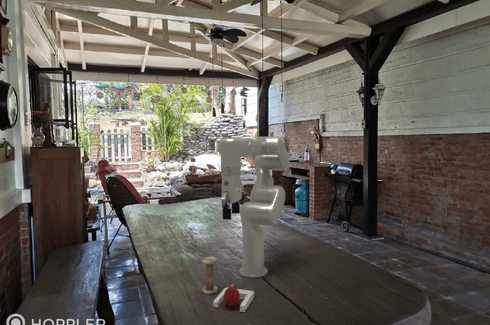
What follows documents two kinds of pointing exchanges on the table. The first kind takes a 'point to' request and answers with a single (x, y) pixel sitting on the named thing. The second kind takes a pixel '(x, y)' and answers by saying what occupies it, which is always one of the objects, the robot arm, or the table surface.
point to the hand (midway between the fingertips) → (231, 216)
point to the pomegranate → (231, 296)
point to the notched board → (244, 295)
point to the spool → (209, 275)
